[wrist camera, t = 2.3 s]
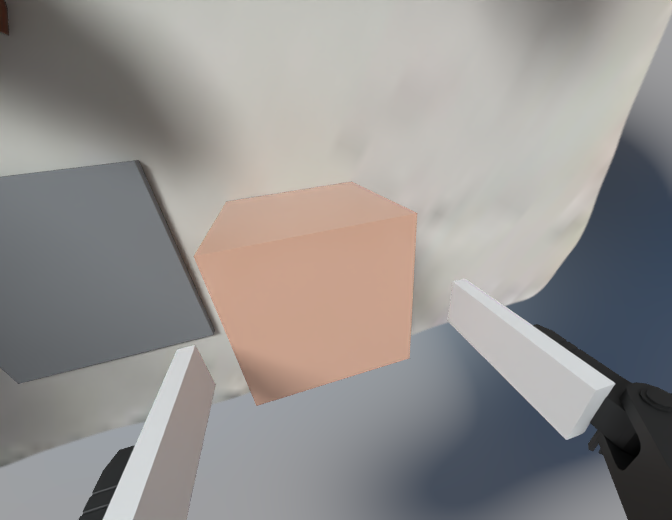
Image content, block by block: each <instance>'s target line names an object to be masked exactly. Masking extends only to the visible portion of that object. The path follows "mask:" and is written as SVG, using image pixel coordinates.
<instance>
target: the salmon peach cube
mask: <svg viewBox="0 0 672 520" xmlns="http://www.w3.org/2000/svg"><path fill="white" fill-rule="evenodd" d="M416 225H417V213H416V212H414V211H412V210H410V209H407V208H405V207H403V206H401V205H399V204H397V203H395V202H393V201H391V200H389V199H387V198H385V197H382V196H380V195H378V194H376V193H374V192H372V191H370V190H368V189H366V188H364V187H362V186H360V185H357V184H355V183H353V182H347V183H340V184H334V185H328V186H321V187H315V188H309V189H302V190H296V191H290V192H284V193H277V194H271V195H265V196H258V197H252V198H246V199H239V200H233V201H227V202H226V203H225V205H224V206H223V208H222V210H221V211H220V213H219V215H218V216H217V218H216V220H215V221H214V223H213V225H212V226H211V228H210V230H209V231H208V233H207V235H206V236H205V238H204V240H203V242H202V243H201V245H200V247H199V248H198V250H197V252H196V253H195V255H194V258H195V261H196V263H197V265H198V268H199V270H200V272H201V275H202V277H203V280H204V282H205V284H206V287H207V289H208V291H209V294H210V296H211V299H212V301H213V303H214V306H215V308H216V310H217V313H218V315H219V318H220V320H221V322H222V325H223V327H224V329H225V332H226V334H227V337H228V339H229V341H230V344H231V346H232V348H233V351H234V353H235V356H236V358H237V360H238V363H239V365H240V367H241V370H242V372H243V375H244V377H245V379H246V382H247V384H248V386H249V389H250V391H251V394H252V396H253V398H254V401H255V403H256V405H257V406H258V405H261V404H264V403H267V402H270V401H274V400H277V399H280V398H283V397H287V396H290V395H293V394H296V393H299V392H303V391H306V390H309V389H312V388H315V387H319V386H322V385H325V384H328V383H332V382H335V381H338V380H341V379H344V378H348V377H351V376H354V375H357V374H360V373H364V372H367V371H370V370H373V369H376V368H380V367H383V366H386V365H389V364H392V363H396V362H399V361H402V360H405V359H409V357H410V338H411V320H412V301H413V282H414V263H415V244H416Z"/></svg>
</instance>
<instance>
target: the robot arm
mask: <svg viewBox="0 0 672 520" xmlns="http://www.w3.org/2000/svg"><path fill="white" fill-rule="evenodd" d="M447 321H448V322H449V323H450V324H451V325H452V326H453V327H454V328H455V329H456V330H457V331H458V332H459V333H460V334H461V335H462V336H463V337H464V338H465V339H467V341H468V342H469V343H470V344H471V345H472V346H473V347H474V348H475V349H476V350H477V351H478V352H479V353H480V354H481V355H482V356H483V357H484V358H485V359H486V360H487V361H488V362H489V363H490V364H491V365H492V366H493V367H494V368H495V369H496V370H497V371H498V372H499V373H500V374H501V375H502V376H503V377H505V379H506V380H507V381H508V382H509V383H510V384H511V385H512V386H513V387H514V388H515V389H516V390H517V391H518V392H519V393H520V394H521V395H522V396H523V397H524V398H525V399H526V400H527V401H528V402H529V403H531V405H532V406H533V407H534V408H535V409H536V410H537V411H538V412H539V413H540V414H541V415H542V416H543V417H544V418H545V419H546V420H547V421H548V422H549V423H550V424H551V425H552V426H553V427H554V428H555V429H556V430H557V431H558V432H559V433H560V434H561V435H562V436H563V437H564V438H565V439H566V440H568V439H570V438H573V437H575V436H578V435H580V434H582V433H584V432H585V430H586V428H587V427H588V425H589V424H590V423H591V424H592V425H593V426H595V428H596V429H598V430H597V432H596V433H595V435H594V436H593V437H592V439H591V440H590V442H589V443H588V446H589V450H591V451H594V449H595V448H596V446H597V445H598V444H599V445H600V450H599V453H600V454H602V455H603V456H604V458H605V461H606V463H607V466H608V469H609V471H610V474H611V477H612V479H613V482H614V484H615V487H616V490H617V492H618V495H619V498H620V500H621V503H622V505H623V508H624V511H625V513H626V516H627V519H628V520H672V394H670V393H668V392H666V391H664V390H662V389H660V388H658V387H654V386H651V385H649V384H644V383H631V382H629V381H627V380H626V379H624V378H622V377H621V376H619V375H618V374H616V373H615V372H613V371H612V370H610V369H609V368H607V367H606V366H604V365H603V364H601V363H600V362H598V361H597V360H595V359H594V358H592V357H591V356H589V355H588V354H586V353H585V352H583V351H582V350H579V349H578V348H577V347H576V346H574V345H573V344H571V343H570V342H567V341H566V340H565V339H564V338H562V337H561V336H559V335H558V334H556V333H555V332H553V331H552V330H549V329H547V328H544V327H542V326H540V325H537V324H536V325H533V326H532V325H531V324H530V323H528V322H527V321H525V320H524V319H522V318H521V317H520V316H518V315H517V314H515V313H514V312H512V311H511V310H509V309H508V308H507V307H505V306H504V305H502V304H501V303H499V302H498V301H497V300H495V299H494V298H492V297H491V296H489V295H488V294H487V293H485V292H484V291H482V290H481V289H479V288H478V287H477V286H475V285H474V284H472V283H471V282H469V281H468V280H466V279H461V280H457V281H453V283H452V290H451V298H450V305H449V313H448V320H447ZM215 385H216V384H215V382H214V380H213V379H212V377H211V375H210V373H209V371H208V369H207V367H206V365H205V363H204V361H203V359H202V357H201V355H200V353H199V351H198V349H197V347H196V345H193V346H189V347H185V348H180V349H177V351H176V353H175V355H174V358H173V360H172V362H171V364H170V367H169V369H168V371H167V374H166V376H165V378H164V380H163V383H162V385H161V387H160V390H159V392H158V394H157V396H156V399H155V401H154V403H153V406H152V408H151V410H150V412H149V415H148V417H147V419H146V422H145V424H144V426H143V429H142V431H141V433H140V435H139V438H138V440H137V442H136V445H135V446H131V447H128V448H124V449H121V450H119V451H118V452H117V454H116V455H115V456H114V458H113V459H112V460H111V462H110V463H109V464H108V465H107V466H106V468H105V469H104V470H103V472H102V474H101V476H100V478H99V480H98V482H97V484H96V486H95V488H94V490H93V495H92V496H91V497H90V498H89V500H88V502H87V504H86V506H85V508H84V510H83V515H82V516H80V518H79V520H186V519H187V515H188V510H189V505H190V501H191V496H192V491H193V487H194V482H195V477H196V472H197V468H198V464H199V459H200V454H201V450H202V445H203V440H204V435H205V431H206V427H207V422H208V417H209V412H210V408H211V403H212V399H213V394H214V390H215Z"/></svg>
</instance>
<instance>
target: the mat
mask: <svg viewBox="0 0 672 520" xmlns="http://www.w3.org/2000/svg"><path fill="white" fill-rule="evenodd" d="M213 334H214V328H213V326H212V324H211V321H210V319H209V317H208V315H207V313H206V310H205V308H204V306H203V304H202V301H201V299H200V297H199V295H198V292H197V290H196V288H195V286H194V283H193V281H192V279H191V277H190V275H189V272H188V270H187V268H186V266H185V263H184V261H183V259H182V257H181V254H180V252H179V250H178V248H177V245H176V243H175V241H174V239H173V237H172V234H171V232H170V230H169V228H168V225H167V223H166V221H165V219H164V216H163V214H162V212H161V210H160V207H159V205H158V203H157V201H156V199H155V196H154V194H153V192H152V190H151V187H150V185H149V183H148V181H147V178H146V176H145V174H144V172H143V169H142V167H141V165H140V163H139V161H138V160H135V161H127V162H119V163H111V164H102V165H94V166H86V167H78V168H69V169H61V170H53V171H44V172H36V173H28V174H20V175H11V176H3V177H0V368H1V369H3V370H4V371H5V372H6V373H7V374H8V375H9V376H10V377H11V378H12V379H14V380H15V381H16V382H17V383H18V384H20V383H24V382H28V381H32V380H35V379H39V378H43V377H47V376H51V375H55V374H59V373H63V372H67V371H71V370H75V369H79V368H83V367H87V366H91V365H95V364H99V363H103V362H107V361H111V360H115V359H119V358H123V357H127V356H131V355H135V354H139V353H143V352H147V351H151V350H155V349H159V348H163V347H167V346H171V345H175V344H179V343H183V342H187V341H191V340H195V339H199V338H203V337H207V336H211V335H213Z"/></svg>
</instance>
